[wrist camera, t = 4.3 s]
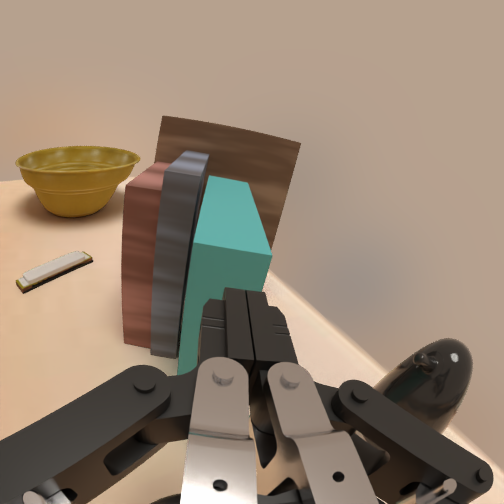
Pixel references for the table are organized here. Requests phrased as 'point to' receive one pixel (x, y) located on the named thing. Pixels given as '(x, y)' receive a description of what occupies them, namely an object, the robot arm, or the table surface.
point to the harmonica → (52, 270)
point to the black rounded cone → (430, 383)
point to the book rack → (188, 216)
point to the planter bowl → (76, 177)
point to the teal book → (222, 256)
